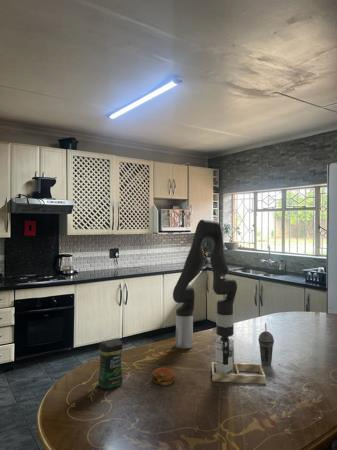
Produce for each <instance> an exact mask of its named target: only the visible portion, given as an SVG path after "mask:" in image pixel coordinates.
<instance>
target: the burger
mask: <svg viewBox="0 0 337 450" xmlns="http://www.w3.org/2000/svg"><path fill="white" fill-rule="evenodd" d="M175 373H176V372H175V370H173V369H172V368H170V367H169V368H168V367H158V368H156V369H154V371H152V374H151V375H152V380H154V383H156V384H158V385H161V386H168V385H169V386H170V385H171V384H173V383H174V381H175V380H176V374H175Z"/></svg>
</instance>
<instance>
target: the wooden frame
mask: <svg viewBox="0 0 337 450" xmlns="http://www.w3.org/2000/svg"><path fill="white" fill-rule="evenodd" d="M215 371H216V361H215V362H214V361H213V362H211V379H212V382H220V383H221V382H223V383H240V384H241V383H245V384H246V383H247V384H266V380H267V379H266V374H265V372H264V369H263V366H262V364H261V363H241V362H234V373H231V374H219V373H215ZM241 371H243V372H258V374H240V372H241Z"/></svg>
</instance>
